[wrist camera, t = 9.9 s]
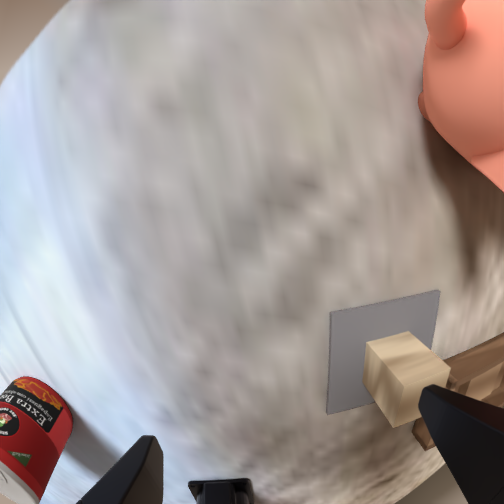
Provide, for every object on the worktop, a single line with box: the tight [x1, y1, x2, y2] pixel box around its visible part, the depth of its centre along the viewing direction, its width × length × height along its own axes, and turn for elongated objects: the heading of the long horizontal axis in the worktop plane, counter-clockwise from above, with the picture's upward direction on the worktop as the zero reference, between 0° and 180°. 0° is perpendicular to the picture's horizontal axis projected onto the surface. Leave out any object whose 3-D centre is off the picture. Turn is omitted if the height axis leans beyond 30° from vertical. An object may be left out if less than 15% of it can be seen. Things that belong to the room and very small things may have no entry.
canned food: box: [0, 376, 73, 504], centre depth 15 cm, size 8×8×11 cm
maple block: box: [362, 331, 451, 428], centre depth 18 cm, size 4×4×6 cm
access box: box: [412, 333, 504, 451], centre depth 23 cm, size 10×16×4 cm, turn 95°
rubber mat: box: [326, 290, 440, 415], centre depth 22 cm, size 10×10×1 cm
